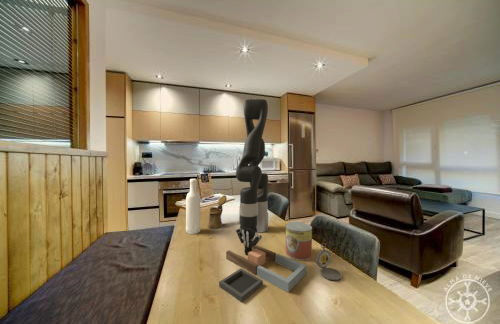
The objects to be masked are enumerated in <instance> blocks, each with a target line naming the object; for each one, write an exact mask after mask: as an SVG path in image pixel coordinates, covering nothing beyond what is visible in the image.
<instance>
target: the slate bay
mask: <svg viewBox="0 0 500 324" xmlns="http://www.w3.org/2000/svg"><path fill="white" fill-rule="evenodd" d="M274 263H276V264H278V265H280V266H282V267H285V268H287V269H289V270H291V271H293V272H292V273H291V274H290V275H289V276H288V277H287V278H286V277H284V276H283V275H281V274H278V273H276V272H274V271H272V270H270V269H269V268H266V267H264V266H262V265H261V266H260V265H259V266H258V267H257V275H256V277H258V278H259V279H261V280H264V281H266V282H267V283H269V284H272V285H274V286H275V287H277V288H278V289H281V290H282V291H285V292H286V293H289V292H290V291H291V290H292V289H294V287H295V286H296V285H297V284H298V283H299V282H300V281H301V280H302V279H303V278H304V277H305V276H306V275H307V268H308V267H307V265H306V264H304V263H302V262H299V261H298V260H296V259H293V258H290V257H288V256H284V255H282V254H280V253H276V255H275V262H274Z"/></svg>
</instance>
